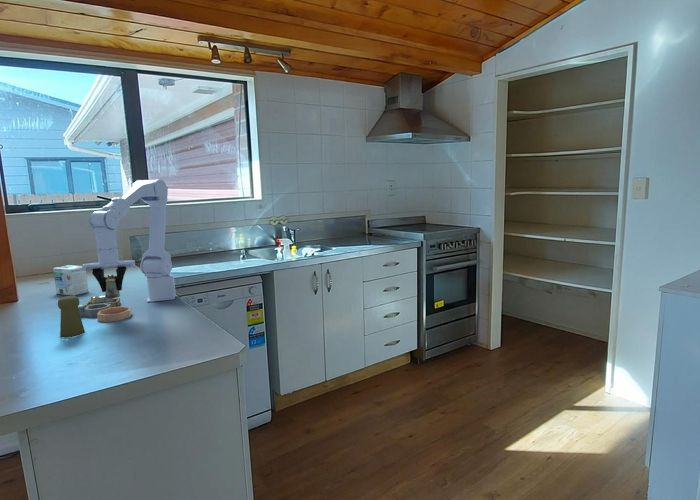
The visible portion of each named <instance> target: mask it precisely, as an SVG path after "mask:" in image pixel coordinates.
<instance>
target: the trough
mask: <svg viewBox="0 0 700 500" xmlns="http://www.w3.org/2000/svg"><path fill="white" fill-rule="evenodd" d="M114 300H115V302H109V303H106V304H111V308H112V307H120V305H121V298H120V297H117V298H114ZM100 304H102V303H100ZM83 305H84V306H85V307H87V306H90V305H94V304H90V300H88V301H87V302H86V303H85V304H83Z"/></svg>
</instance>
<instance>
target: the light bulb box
mask: <svg viewBox="0 0 700 500" xmlns="http://www.w3.org/2000/svg"><path fill="white" fill-rule="evenodd" d="M52 271H53V277H54V287H55V294H58V295H65V296H78V295H83V294H85V293H89V292H90V291H89V283H88V275H87V271H83V269H82V265H71V264H67V265H63V266H57V267H53V270H52Z"/></svg>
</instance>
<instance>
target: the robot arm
mask: <svg viewBox="0 0 700 500" xmlns="http://www.w3.org/2000/svg"><path fill="white" fill-rule="evenodd" d="M168 190H169V187H168V185H167V183H166V182H165V181H164V180H163V179H160V178H158V179H143V180H142V179H137V180H136V181H135V182H133V183H132V186H131V188H130V189H128V190H127V192H126V193H125V194H124V195H123V196H122V197H113V198H111V201H110V202H109V203H107V204H106V205H104V206H102V208H101V209H100V210H96V211H93V212H92V213H91V214H90V217H89V220H88V224H89V226H90V227H91V229H92V233H93V234H94V237H95V243H96V251H97V261H98V262H90V263H83V264H82V265H81V266H82V269H83V271H86V272H87V271H92V272H91V273H92V275H93V277H94V278H95V280H96V281H97V282H98V284H99V286H100V288H101V292H102V293H105V286H104V279H103V278H104V277H105V270H108V269H116V270H115V273H116V275H117V278H118V290H119V291H122V289H123V281H124V277H125V274H126V271H127V268H135V267H136V261H135V259H134V260H133V259H131V260H120V257H119V249H118V248H119V247H118V239H117V238H118V237H117V228H118V226H119V225H120V221H121V219H122V218H123V217H124V216H125V215H127V214H128V213H129V212H130V211H131V205H133V204H134V203H135V202H137V201H139V200H142V201H143V203H145V204H147V205H148V206H149V208H150V211H149V228H148V229H149V233H148V234H149V235H148V249H147V250H146V251H145V252H144V253H143V254H142V257H141V260H140V264H139V267H140V271H141V273H142V275H143V274H144V277H146V285H147V295H148V297H147V299H146V302H147V303H153V302H160V301H170V300H175V299H176V294H177V291H176V286H175V276H174V274H171V272H172V270H173V263H172V255H171V254H170V253H169V252H168V251H167V250H165V245H166V243H165V242H166V241H165V240H166V218H167V217H166V216H167V204H168V193H169V191H168Z"/></svg>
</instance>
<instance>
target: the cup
mask: <svg viewBox="0 0 700 500" xmlns="http://www.w3.org/2000/svg"><path fill="white" fill-rule="evenodd" d="M132 314H133V313H132V307H130V306H124V305H123V306H119V307H112V308H108V309H104V310H101V311H99V312H98V313H97V321H98V322H103V323H110V322H118V321H122V320H125V319H129V318H131V316H132Z"/></svg>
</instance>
